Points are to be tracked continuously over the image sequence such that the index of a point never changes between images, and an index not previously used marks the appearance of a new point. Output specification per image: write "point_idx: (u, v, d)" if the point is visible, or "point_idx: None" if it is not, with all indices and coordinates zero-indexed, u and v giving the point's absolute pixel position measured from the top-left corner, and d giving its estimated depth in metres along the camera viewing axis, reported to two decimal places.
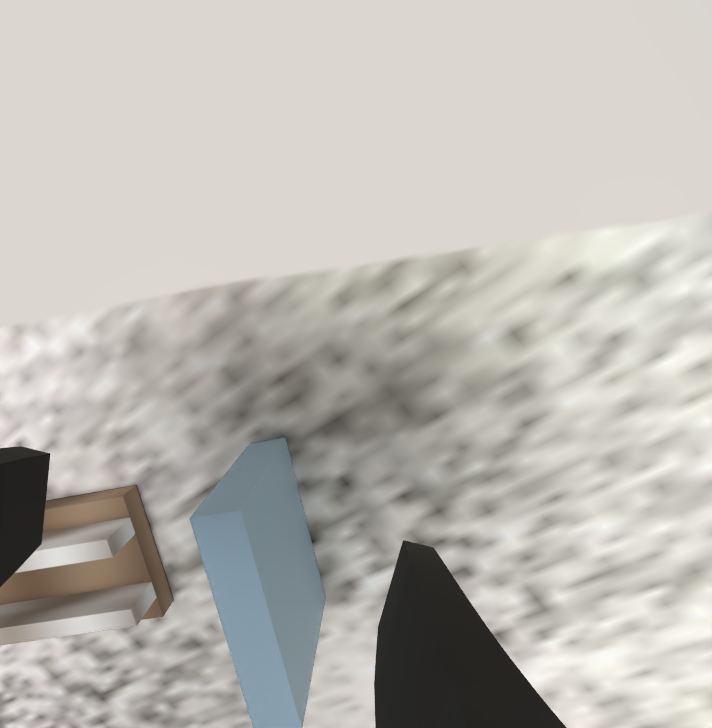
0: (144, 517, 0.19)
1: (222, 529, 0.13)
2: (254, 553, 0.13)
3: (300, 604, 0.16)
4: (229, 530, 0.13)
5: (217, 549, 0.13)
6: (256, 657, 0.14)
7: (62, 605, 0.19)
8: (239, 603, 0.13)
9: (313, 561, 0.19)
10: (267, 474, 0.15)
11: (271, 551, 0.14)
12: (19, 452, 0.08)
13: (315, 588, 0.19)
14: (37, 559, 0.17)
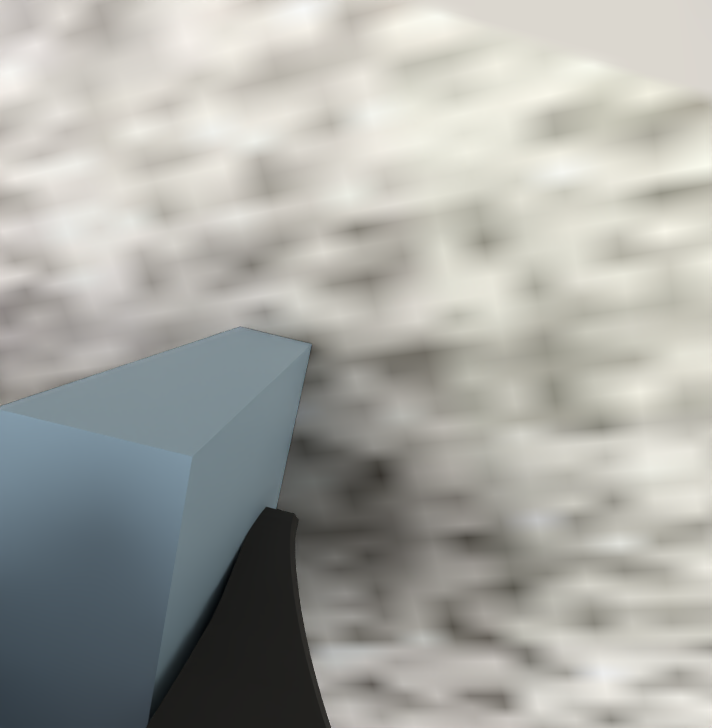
0: None
1: (97, 494, 0.03)
2: (170, 610, 0.04)
3: None
4: (120, 505, 0.03)
5: (51, 551, 0.04)
6: None
7: None
8: None
9: None
10: (274, 390, 0.06)
11: (212, 587, 0.05)
12: None
13: None
14: None
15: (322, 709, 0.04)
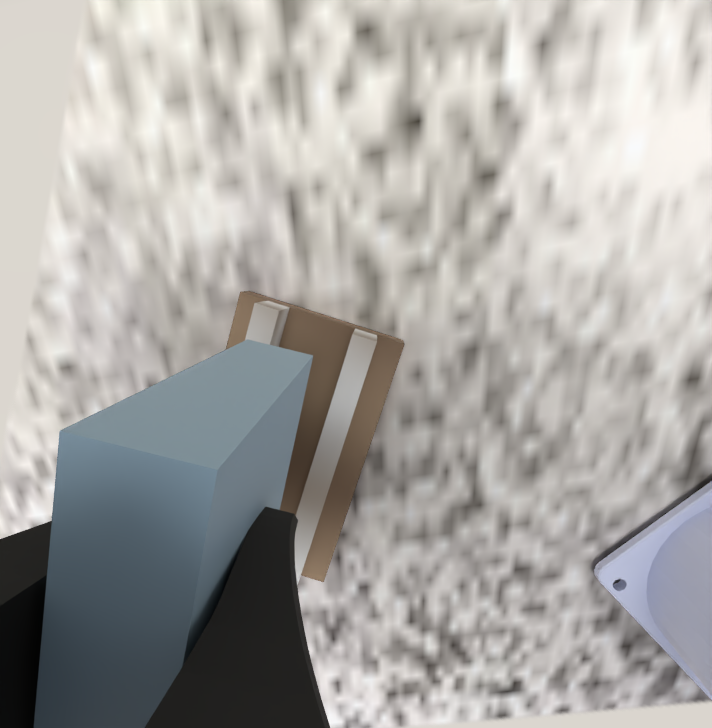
0: (287, 303, 0.16)
1: (141, 499, 0.04)
2: (197, 593, 0.05)
3: None
4: (159, 508, 0.04)
5: (103, 544, 0.04)
6: None
7: None
8: (102, 694, 0.05)
9: None
10: (279, 404, 0.07)
11: (228, 574, 0.06)
12: None
13: None
14: None
15: (322, 709, 0.04)
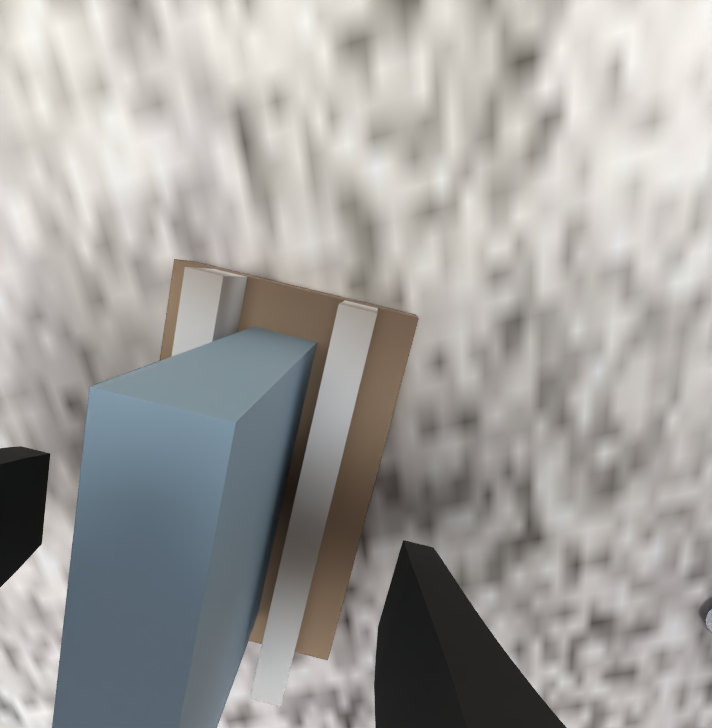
0: (247, 274, 0.11)
1: (164, 451, 0.05)
2: (214, 541, 0.05)
3: (232, 642, 0.08)
4: (180, 459, 0.05)
5: (128, 495, 0.05)
6: None
7: None
8: (124, 641, 0.05)
9: (267, 560, 0.11)
10: (288, 379, 0.07)
11: (239, 538, 0.06)
12: (19, 452, 0.08)
13: (254, 605, 0.11)
14: None
15: None
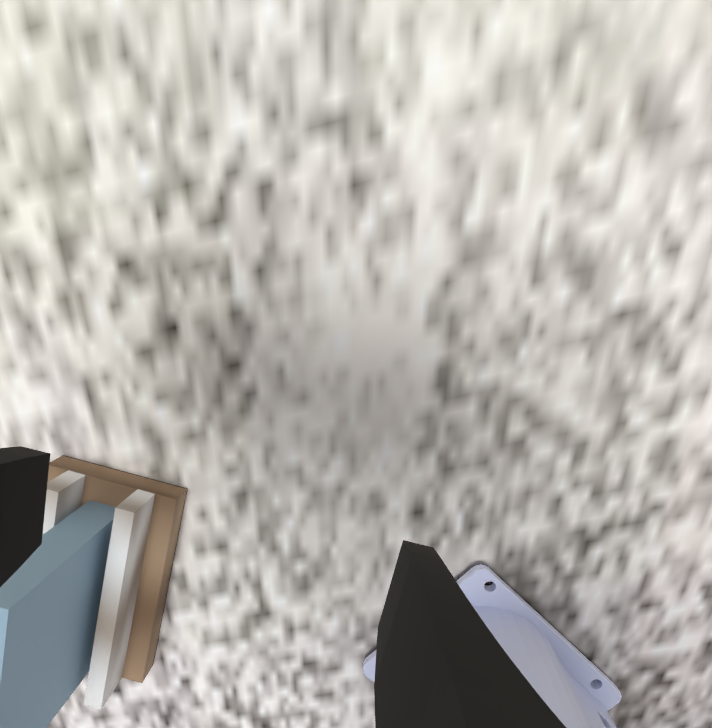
0: (92, 465, 0.20)
1: None
2: (6, 647, 0.14)
3: (54, 676, 0.17)
4: None
5: None
6: None
7: None
8: None
9: None
10: (72, 558, 0.16)
11: (36, 636, 0.15)
12: (20, 452, 0.08)
13: (87, 653, 0.19)
14: None
15: None
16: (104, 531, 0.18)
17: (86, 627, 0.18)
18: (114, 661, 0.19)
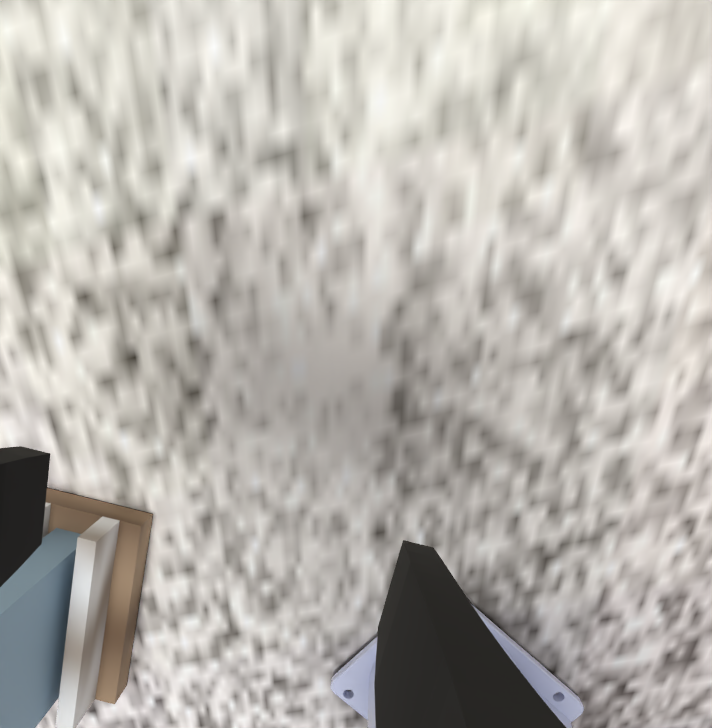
0: (59, 492, 0.20)
1: None
2: None
3: (21, 704, 0.17)
4: None
5: None
6: None
7: None
8: None
9: None
10: (33, 590, 0.16)
11: None
12: (19, 452, 0.08)
13: (58, 677, 0.20)
14: None
15: None
16: (68, 559, 0.18)
17: (54, 653, 0.19)
18: (84, 685, 0.20)
